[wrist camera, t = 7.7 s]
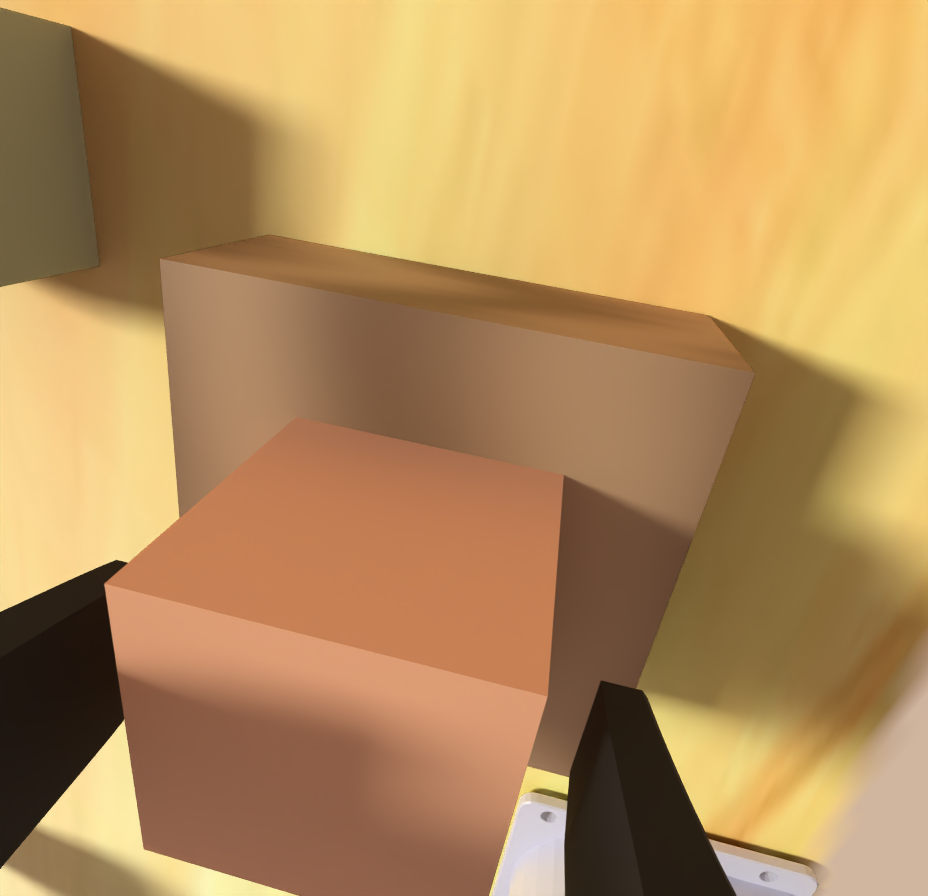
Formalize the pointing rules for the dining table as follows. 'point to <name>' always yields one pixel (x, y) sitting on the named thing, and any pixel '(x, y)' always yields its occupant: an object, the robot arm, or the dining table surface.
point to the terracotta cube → (341, 664)
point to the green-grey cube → (42, 154)
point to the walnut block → (473, 413)
